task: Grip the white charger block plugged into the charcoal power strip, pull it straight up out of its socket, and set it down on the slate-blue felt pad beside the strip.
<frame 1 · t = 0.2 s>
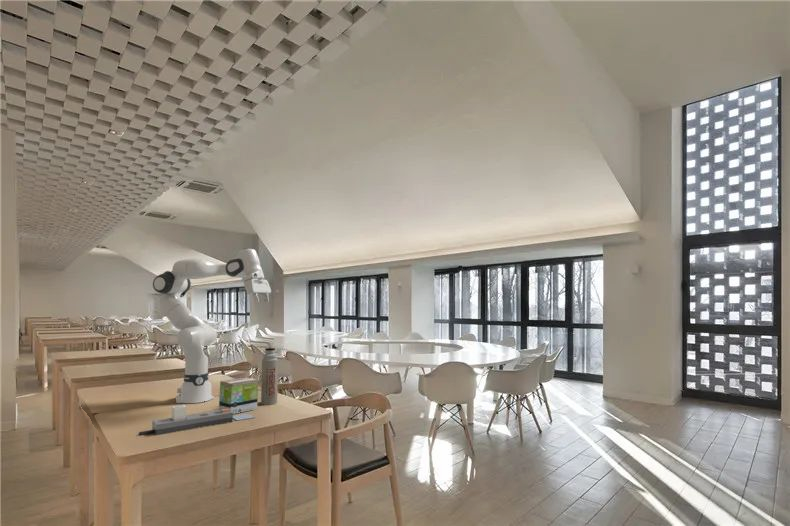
hand: (262, 302, 236), 52 cm above the table, tool tilted 20°, fingers open, 8 cm apart
felt pad: (242, 417, 205), on the table
power strip: (193, 426, 191), on the table
tea box: (238, 411, 217), on the table
thermos bottle: (269, 403, 233), on the table
charger: (178, 423, 188), point 2 cm above the table, touching power strip
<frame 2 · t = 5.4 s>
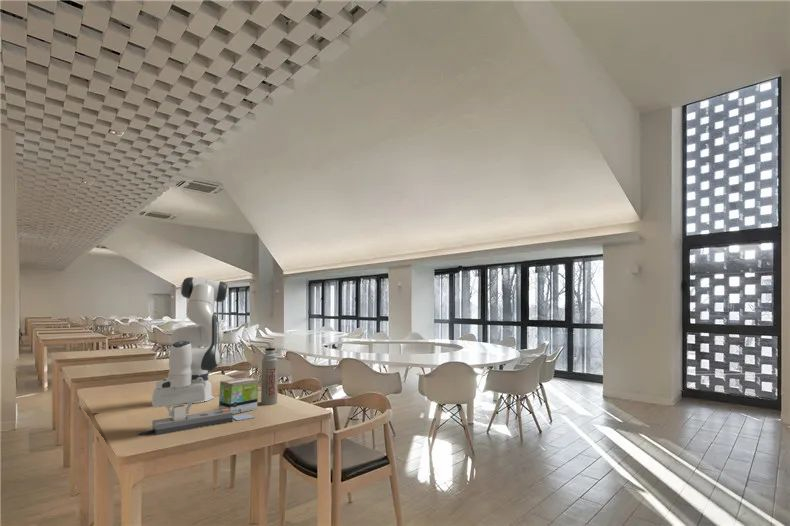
hand: (178, 414, 188), 6 cm above the table, tool pointing down, fingers closed on charger, 4 cm apart
charger: (178, 423, 188), point 2 cm above the table, touching gripper, power strip
everything else where it was.
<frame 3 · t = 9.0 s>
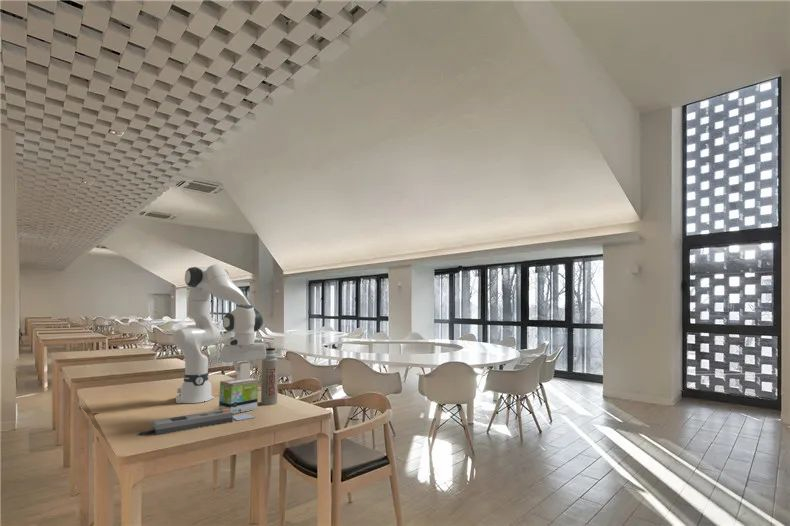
hand: (243, 370, 206), 21 cm above the table, tool pointing down, fingers closed on charger, 4 cm apart
charger: (243, 378, 206), point 17 cm above the table, touching gripper
everything else where it was.
when the fingers open (6 cm above the table, at t = 12.6 s): charger drops 2 cm, resting on felt pad.
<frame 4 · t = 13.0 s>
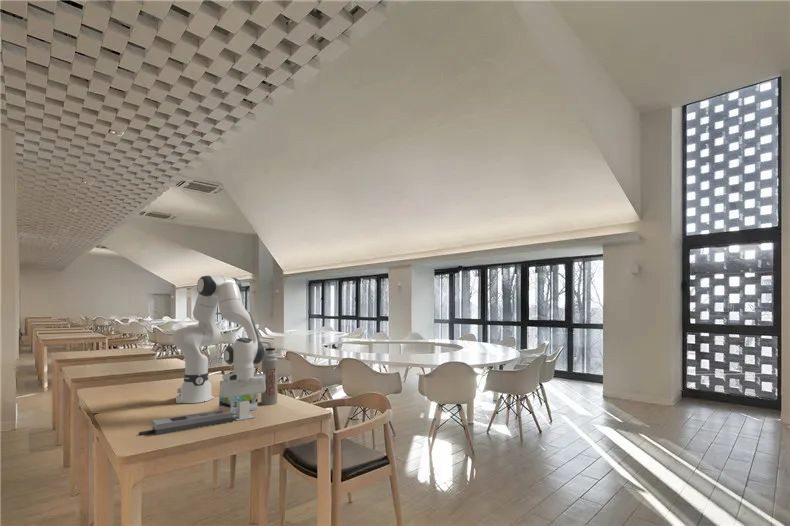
hand: (243, 405, 205), 6 cm above the table, tool pointing down, fingers open, 8 cm apart
charger: (242, 416, 205), resting on felt pad
everything else where it was.
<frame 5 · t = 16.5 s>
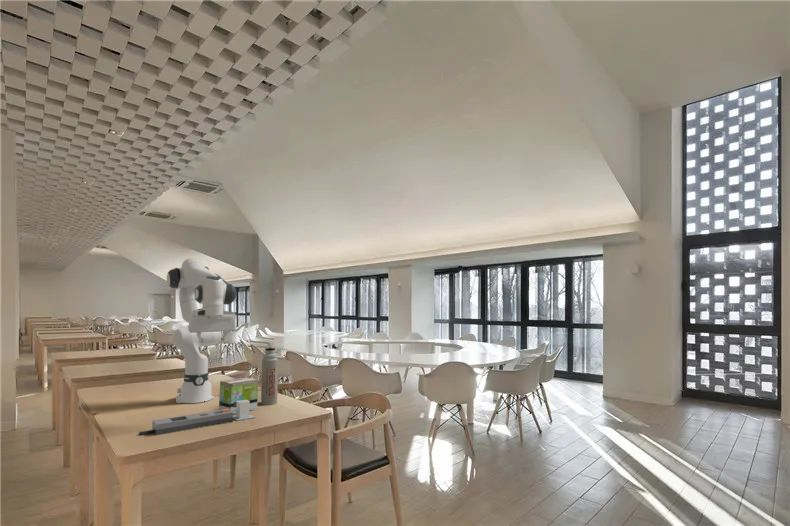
hand: (212, 342, 206), 34 cm above the table, tool pointing down, fingers open, 8 cm apart
nothing on the table moved.
at the end: charger inside the target area on the felt pad (0.0 cm from its centre), point 0.4 cm above the felt pad's base; charger tilted 0°; the gripper is holding nothing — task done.
